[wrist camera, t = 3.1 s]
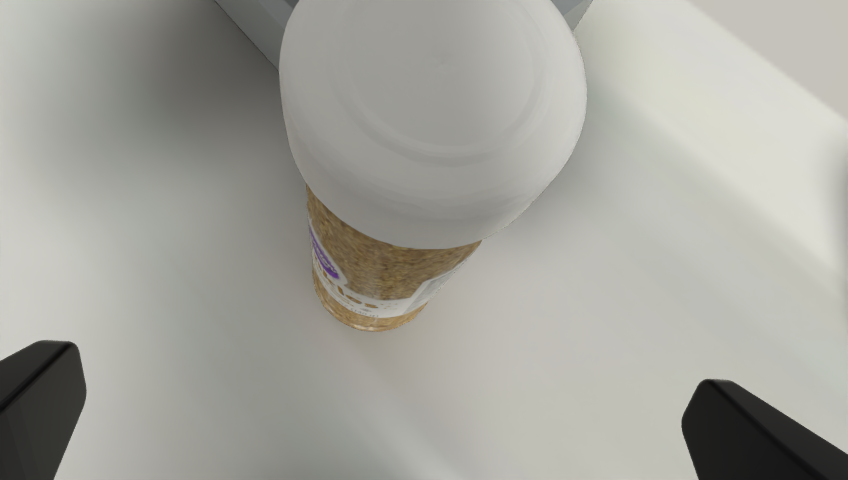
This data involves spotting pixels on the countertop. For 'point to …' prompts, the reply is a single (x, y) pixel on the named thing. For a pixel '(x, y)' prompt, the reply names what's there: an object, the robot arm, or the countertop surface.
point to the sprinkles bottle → (421, 137)
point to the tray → (274, 3)
